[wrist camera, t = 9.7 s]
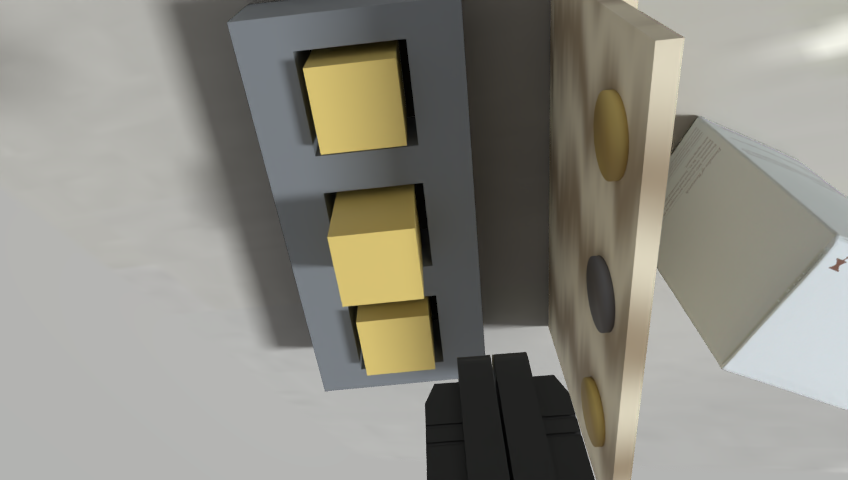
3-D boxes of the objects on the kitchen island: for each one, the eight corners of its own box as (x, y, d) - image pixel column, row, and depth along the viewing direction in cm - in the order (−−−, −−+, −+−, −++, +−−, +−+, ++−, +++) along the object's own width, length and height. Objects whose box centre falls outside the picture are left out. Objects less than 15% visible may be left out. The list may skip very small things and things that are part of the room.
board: (248, 4, 29) (226, 22, 26) (454, -20, 29) (460, -5, 25) (331, 347, 40) (324, 391, 37) (479, 333, 40) (486, 375, 37)
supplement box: (621, 221, 36) (714, 371, 25) (698, 111, 32) (843, 230, 22) (720, 260, 38) (846, 416, 27) (803, 160, 34) (986, 293, 23)
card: (544, -30, 29) (644, 42, 17) (635, -41, 28) (802, 24, 16) (543, 326, 40) (602, 520, 28) (608, 320, 40) (695, 512, 28)
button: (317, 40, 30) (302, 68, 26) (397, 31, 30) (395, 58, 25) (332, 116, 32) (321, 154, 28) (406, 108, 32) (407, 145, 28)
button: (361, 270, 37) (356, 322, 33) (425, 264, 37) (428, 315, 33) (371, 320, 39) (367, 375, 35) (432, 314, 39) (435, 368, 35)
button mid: (337, 187, 31) (327, 237, 27) (413, 179, 31) (414, 228, 27) (350, 251, 34) (342, 306, 29) (421, 244, 33) (424, 298, 29)
